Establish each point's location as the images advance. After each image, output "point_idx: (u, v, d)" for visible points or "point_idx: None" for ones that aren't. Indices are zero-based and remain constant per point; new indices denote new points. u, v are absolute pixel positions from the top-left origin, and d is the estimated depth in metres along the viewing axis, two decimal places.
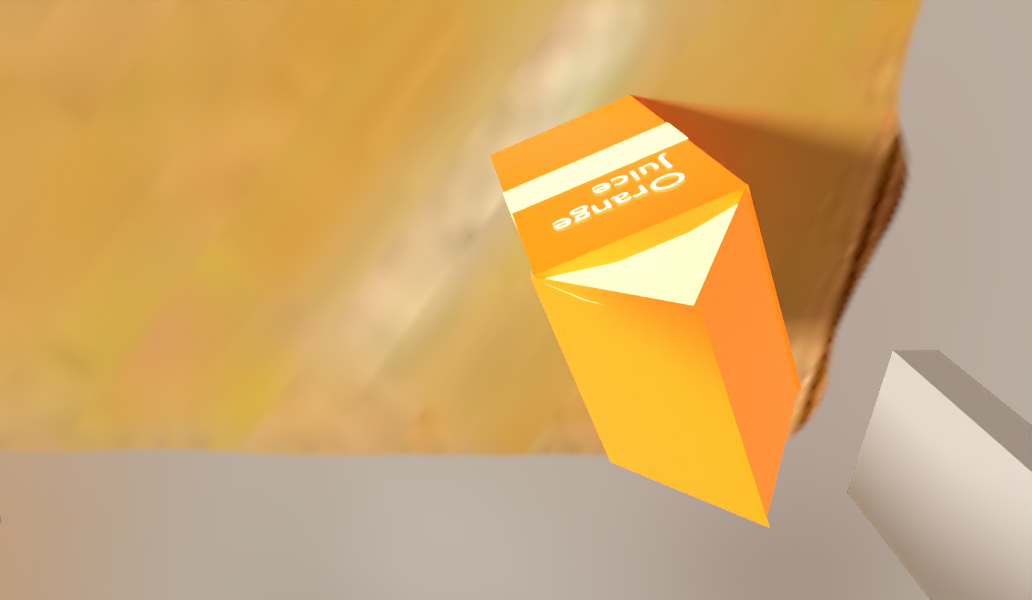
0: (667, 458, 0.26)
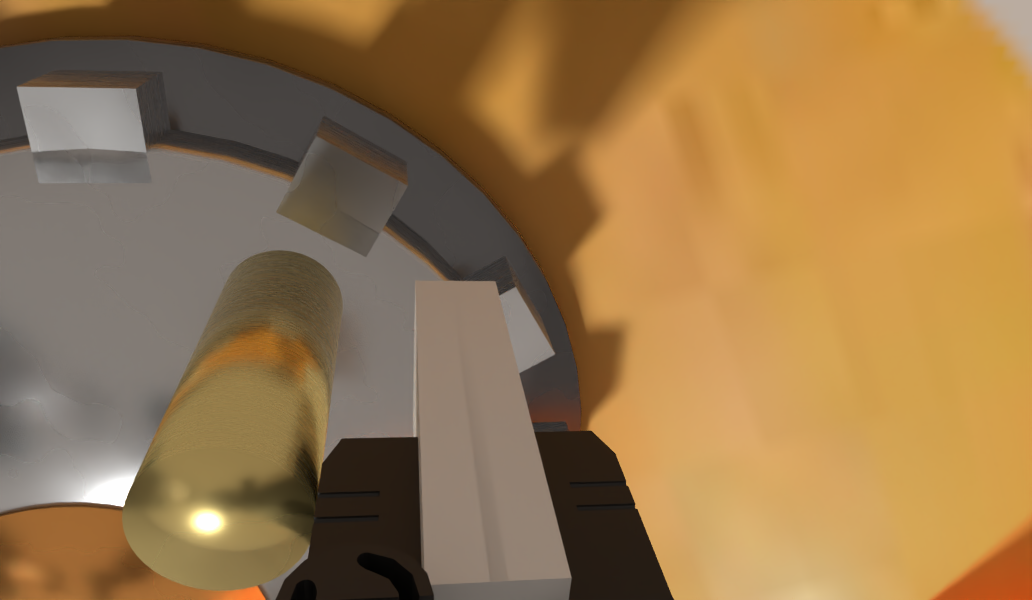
0: None
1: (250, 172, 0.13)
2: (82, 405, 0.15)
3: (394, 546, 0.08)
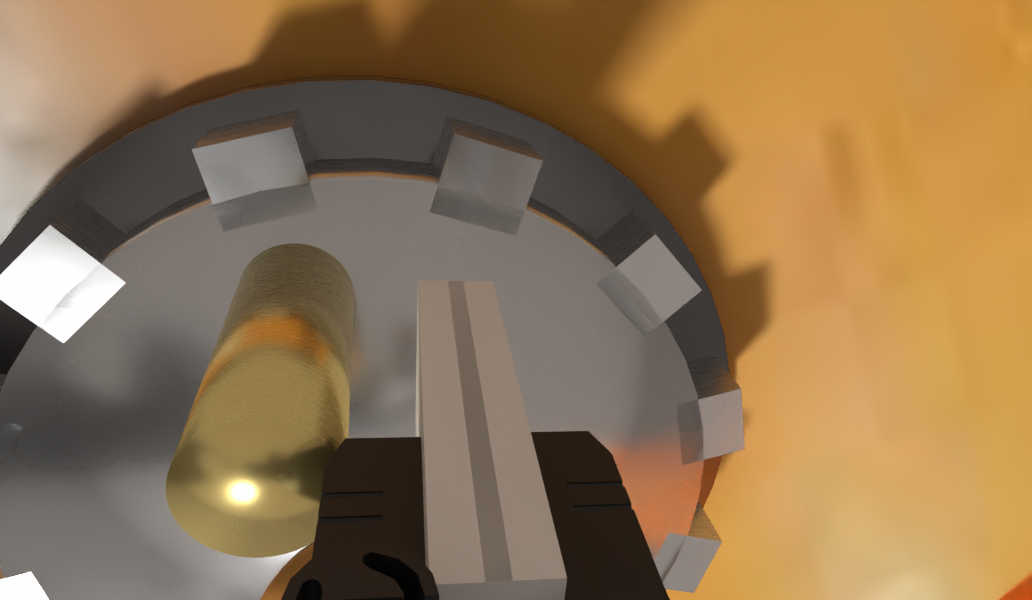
0: None
1: (178, 218, 0.14)
2: None
3: (398, 546, 0.08)
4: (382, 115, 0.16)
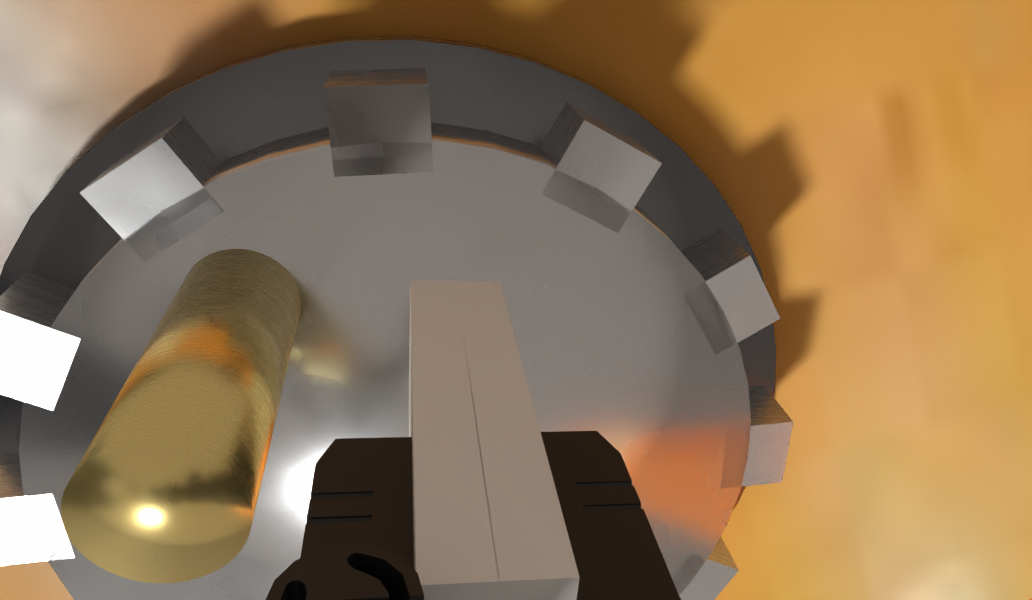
0: None
1: (99, 262, 0.14)
2: (268, 485, 0.17)
3: (387, 547, 0.08)
4: None
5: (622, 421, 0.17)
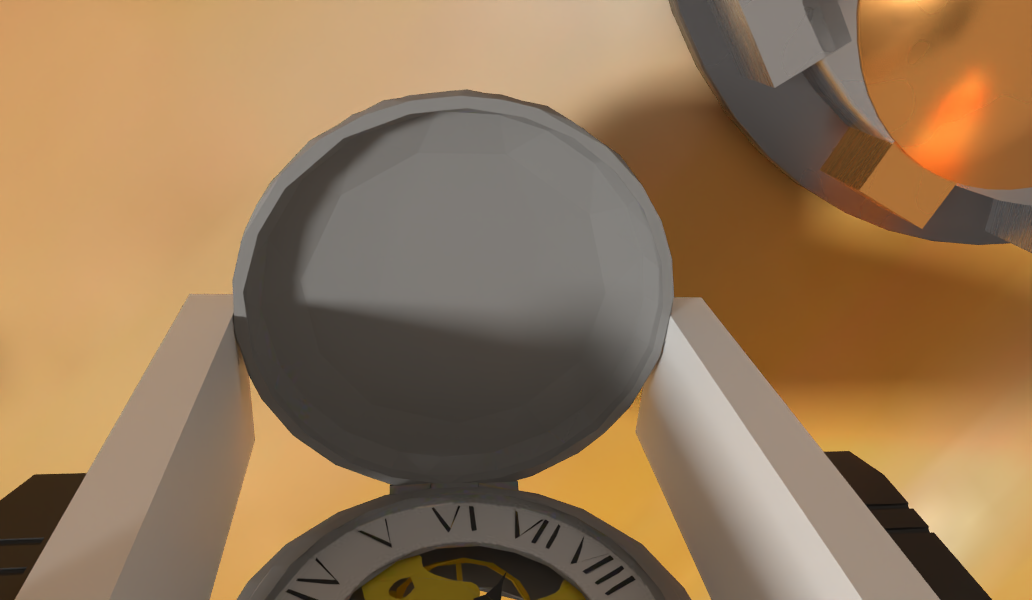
0: None
1: None
2: None
3: None
4: None
5: None
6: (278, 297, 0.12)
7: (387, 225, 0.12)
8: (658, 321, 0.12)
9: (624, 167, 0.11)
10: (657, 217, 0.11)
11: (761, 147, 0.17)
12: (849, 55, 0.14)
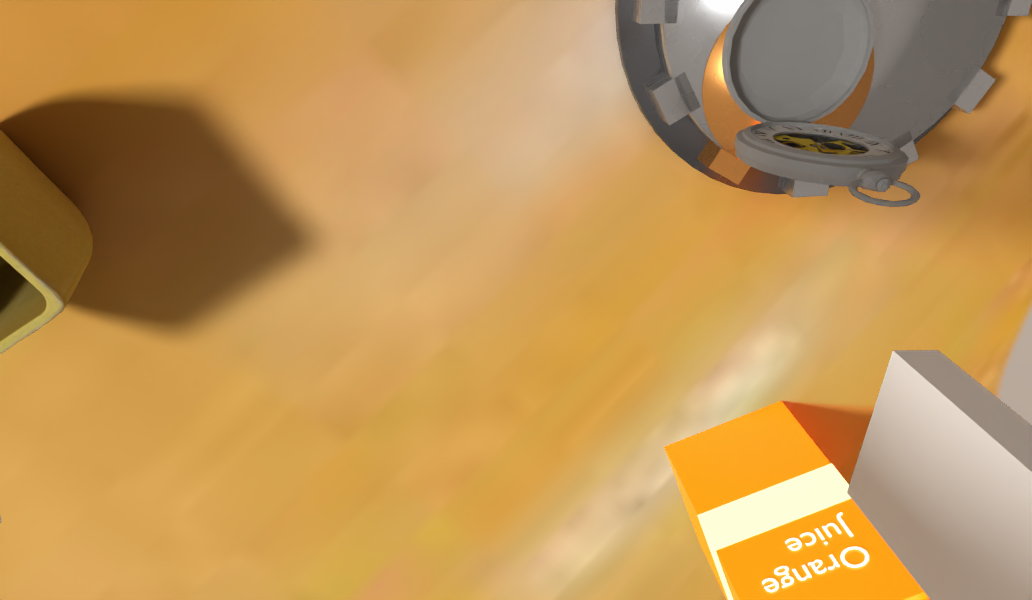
0: None
1: None
2: None
3: None
4: None
5: (904, 77, 0.35)
6: (734, 44, 0.33)
7: (774, 18, 0.33)
8: (866, 55, 0.33)
9: None
10: (871, 12, 0.33)
11: (670, 148, 0.37)
12: (700, 112, 0.35)
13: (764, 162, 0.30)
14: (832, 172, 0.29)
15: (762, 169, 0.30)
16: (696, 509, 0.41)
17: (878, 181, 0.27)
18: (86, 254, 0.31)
